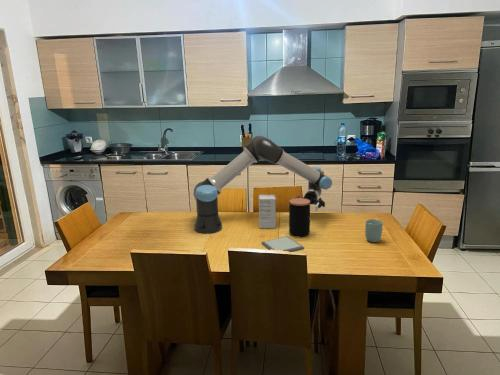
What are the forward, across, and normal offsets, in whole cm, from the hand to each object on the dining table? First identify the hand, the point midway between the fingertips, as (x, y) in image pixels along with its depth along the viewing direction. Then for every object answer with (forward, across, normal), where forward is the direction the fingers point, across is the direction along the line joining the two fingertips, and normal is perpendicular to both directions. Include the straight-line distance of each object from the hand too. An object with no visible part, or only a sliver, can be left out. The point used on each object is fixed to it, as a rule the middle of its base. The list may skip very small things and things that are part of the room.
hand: (303, 207), depth 200 cm
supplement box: (+3, +20, -12) cm, 23 cm away
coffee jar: (+10, 0, -12) cm, 15 cm away
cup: (+8, -37, -12) cm, 39 cm away
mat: (+28, +4, -11) cm, 31 cm away
